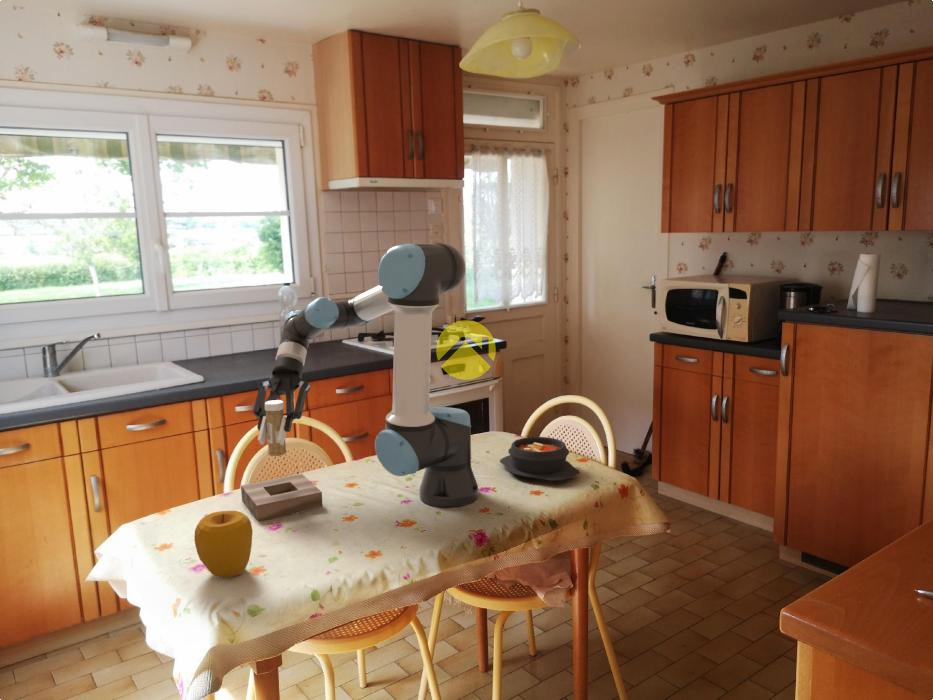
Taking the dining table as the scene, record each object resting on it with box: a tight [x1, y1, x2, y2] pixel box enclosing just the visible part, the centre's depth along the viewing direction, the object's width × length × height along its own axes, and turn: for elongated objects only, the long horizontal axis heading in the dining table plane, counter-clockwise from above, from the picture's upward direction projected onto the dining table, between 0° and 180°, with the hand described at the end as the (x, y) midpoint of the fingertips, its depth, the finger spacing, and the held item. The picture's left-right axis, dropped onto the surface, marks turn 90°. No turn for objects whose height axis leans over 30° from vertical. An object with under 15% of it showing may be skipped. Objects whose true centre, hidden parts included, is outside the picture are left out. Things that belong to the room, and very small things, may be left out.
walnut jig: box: [240, 473, 324, 522], centre depth 177 cm, size 16×16×4 cm
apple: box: [193, 510, 253, 579], centre depth 140 cm, size 11×11×13 cm
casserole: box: [499, 436, 581, 482], centre depth 196 cm, size 25×19×8 cm
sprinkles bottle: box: [264, 399, 287, 457], centre depth 175 cm, size 5×5×13 cm
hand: (270, 442), depth 171 cm, fingers closed on sprinkles bottle, 4 cm apart
